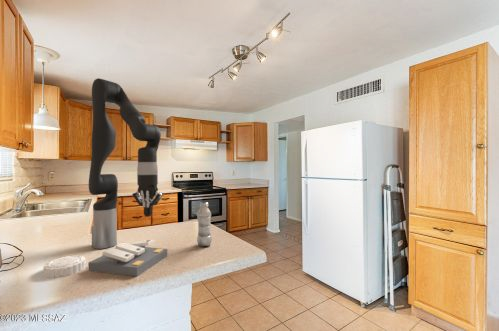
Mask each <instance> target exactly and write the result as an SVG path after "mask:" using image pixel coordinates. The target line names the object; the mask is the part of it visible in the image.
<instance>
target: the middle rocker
mask: <svg viewBox="0 0 499 331" xmlns="http://www.w3.org/2000/svg"><path fill="white" fill-rule="evenodd" d="M114 248H115V249H118V250H121V251H125V252H128V253H132V254H135V255H140V254H141V253H143V252H145V248H142V247H138V246H135V245H131V244H130V243H128V242H122V243H119V244H116V245H115V246H114Z"/></svg>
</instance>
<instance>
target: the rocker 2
mask: <svg viewBox="0 0 499 331" xmlns="http://www.w3.org/2000/svg"><path fill="white" fill-rule="evenodd" d="M154 243H156V242H155V238H154V239H152V238H151V239H144V240H135V241H132V242H130V243H129V244H131V245H135V246H138V247H139V246H145V247H148V246H150V245H152V244H154Z"/></svg>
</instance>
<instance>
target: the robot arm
mask: <svg viewBox="0 0 499 331" xmlns="http://www.w3.org/2000/svg"><path fill="white" fill-rule="evenodd" d="M106 102H107V103H109V104H111V103H112V104H115V105H116V106H118V107H119V115H120V117H121V119H122V120H123V121H124V122H125V123H126V125H128V127H129V129H130V131H131V135H132V137H133V138H134V139H136V140H137V141H139V142H146V144H145V146H144V147H140V148H138V150H137V167H136V169H137V170H136V171H137V172H136V173H137V177H136V178H137V179H136V180H137V182H136V184H137V186H138V187H137V190H136V192H133V193H132V196H133V198H134V199H135V201H136V203H137V204H138V205H139V206H141V207H143V216H144V217H145V218H146V217H147V218H149V217H151V216H152V215H153V206H157V205H158V203H159V202H160V200H161V199H162V198H163V196H164V193H163V192H160V191H159V189H158V184H159V182H158V181H159V180H158V178H159V176H158V159H157V158H158V157H157V156H158V155H157V153H158V149H159V146H160V145H159V144H160V142H161V137H162V133H161V129H160V127H158V126H157V125H155V124H149V123H146V121H147V120H146V118H145V117H144V115H143V114H142V113H141V112H140V111H139V110H138V109H137V107H135V105H134V104H133V103H132V102H131V100H130V98H129V97H128V96H127V93H126V92H125V91H124V89H123V88H122V86H121V85H120V84H119V83H116V82H114V81H111V80H106V79H103V78H95V79H94V80H93V82H92V85H91V104H92V128H91V129H92V130H91V159H90V167H89V177H88V191H89V193H90V195H92V196H99V195H105V196H104V197H103V198H101V199H100V200H98V201H95V202H94V203H93V205H92V213H93V214H92V215H93V217H92V218H93V221H92V223H93V225H92V226H91V247H92V248H93V249H97V250H104V249H110V248H114V247H116V245H118V242H117V241H118V239H117V238H118V233H117V232H118V230H117V228H118V227H117V222H118V221H117V202H118V191H119V190H118V188H119V185H118V184H119V183H118V177H117V176H116V175H115V174H114V173H103V174H102V169H103V165H104V164H105V162H106V160H108V158H109V157H110V155H111V154H112V153H113V151H114V150H115V148H116V143H117V142H116V139H117V135H116V134H117V133H116V129H115V127H114V125H113V123H112V122H111V119H110V118H109V116H108V113H107V109H106Z"/></svg>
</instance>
